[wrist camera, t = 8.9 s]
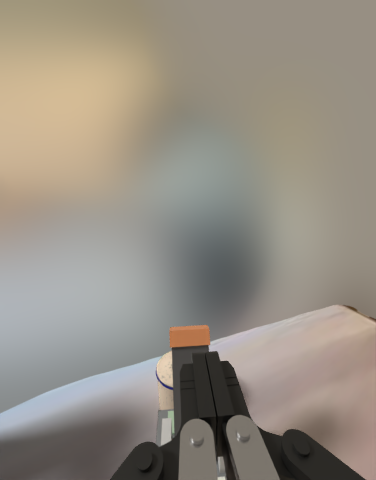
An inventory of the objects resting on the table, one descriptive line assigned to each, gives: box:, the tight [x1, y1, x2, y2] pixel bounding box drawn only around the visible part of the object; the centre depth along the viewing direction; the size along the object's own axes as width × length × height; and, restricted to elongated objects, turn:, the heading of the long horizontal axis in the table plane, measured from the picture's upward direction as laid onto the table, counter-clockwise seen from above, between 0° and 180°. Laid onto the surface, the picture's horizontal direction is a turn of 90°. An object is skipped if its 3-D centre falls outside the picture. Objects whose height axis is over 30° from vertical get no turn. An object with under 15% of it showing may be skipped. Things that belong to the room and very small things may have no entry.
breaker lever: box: [170, 325, 210, 436], centre depth 27 cm, size 2×5×15 cm, turn 94°
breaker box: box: [156, 409, 225, 480], centre depth 27 cm, size 12×10×13 cm
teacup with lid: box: [156, 351, 174, 410], centre depth 43 cm, size 12×9×12 cm
